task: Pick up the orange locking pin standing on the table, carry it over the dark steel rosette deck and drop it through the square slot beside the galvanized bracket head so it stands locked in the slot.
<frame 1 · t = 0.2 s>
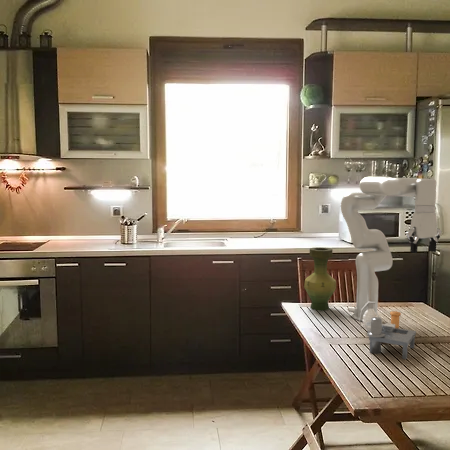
hand: (423, 252, 200), 36 cm above the table, tool pointing down, fingers open, 9 cm apart
pin: (394, 335, 209), on the table
hand grenade: (368, 331, 214), on the table
vase: (319, 308, 251), on the table
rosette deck: (392, 348, 194), on the table
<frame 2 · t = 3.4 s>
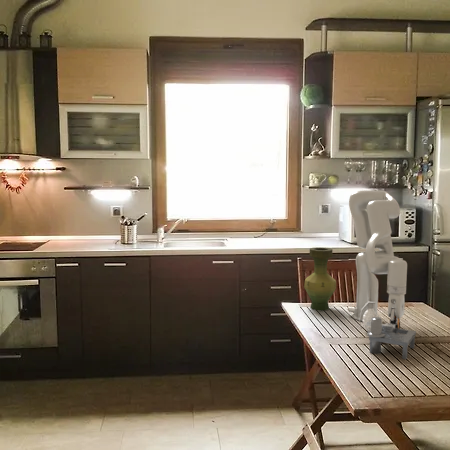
hand: (394, 331, 208), 2 cm above the table, tool pointing down, fingers closed on pin, 3 cm apart
pin: (394, 335, 209), on the table, touching gripper
everything else where it was.
when the fingers open (7 cm above the table, at t = 7.7 s): pin drops 5 cm, on the table.
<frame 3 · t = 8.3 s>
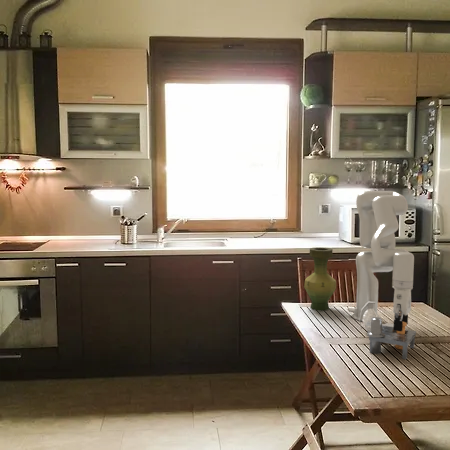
hand: (400, 327, 194), 8 cm above the table, tool pointing down, fingers open, 9 cm apart
pin: (399, 347, 195), on the table
everything else where it was.
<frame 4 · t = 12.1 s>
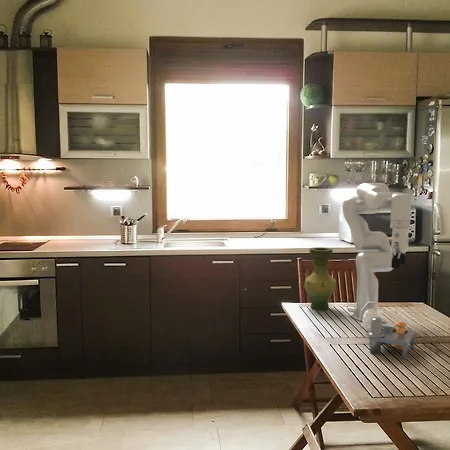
hand: (398, 266, 202), 30 cm above the table, tool pointing down, fingers open, 9 cm apart
nothing on the table moved.
at the end: pin 0.0 cm from the target spot on the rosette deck, point 0.0 cm above the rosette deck's base; pin tilted 1°; the gripper is holding nothing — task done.
